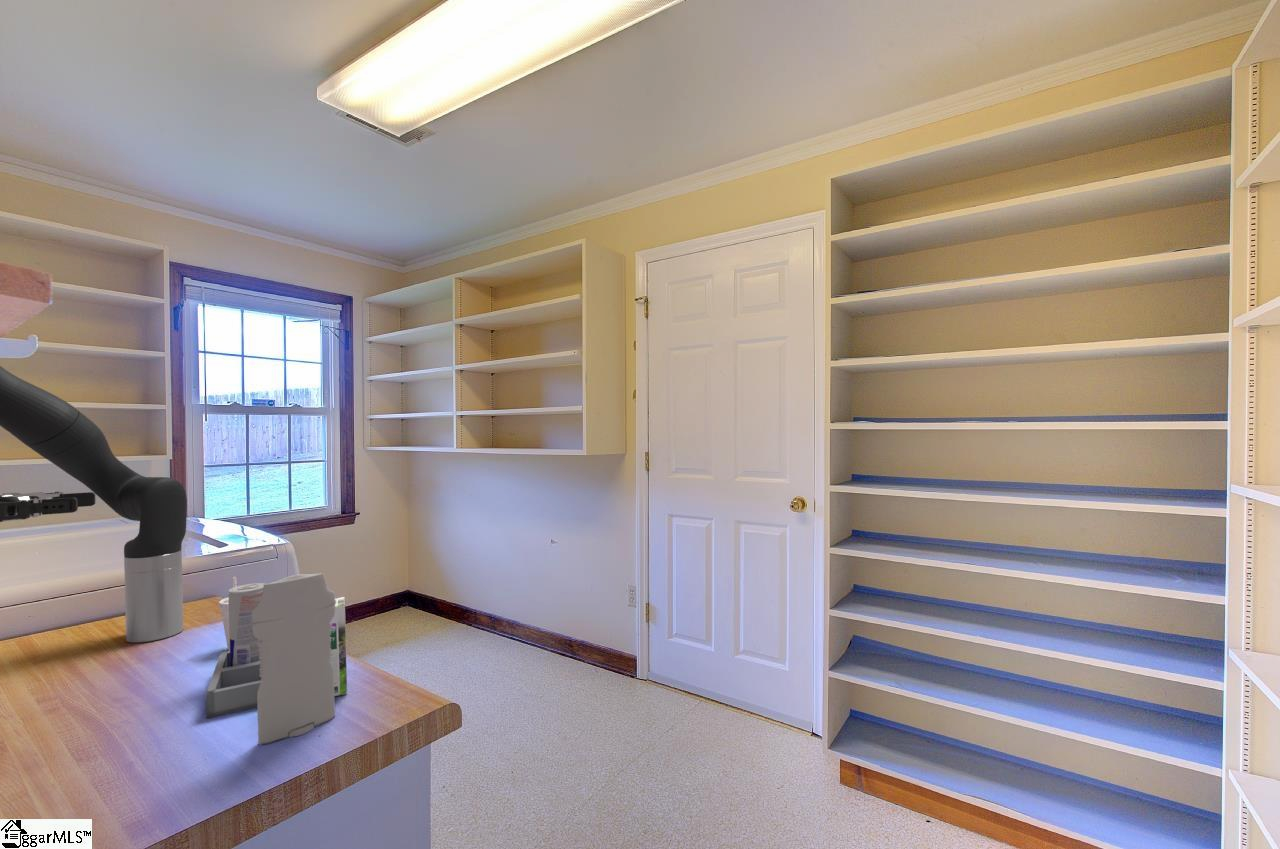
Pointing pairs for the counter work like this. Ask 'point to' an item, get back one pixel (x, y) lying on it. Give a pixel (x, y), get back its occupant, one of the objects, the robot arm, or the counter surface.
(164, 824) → the counter surface
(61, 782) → the counter surface
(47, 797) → the counter surface
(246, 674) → the gray divided tray
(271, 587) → the grey flat bottle
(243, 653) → the beverage can
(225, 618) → the smoothie
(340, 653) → the syrup box
